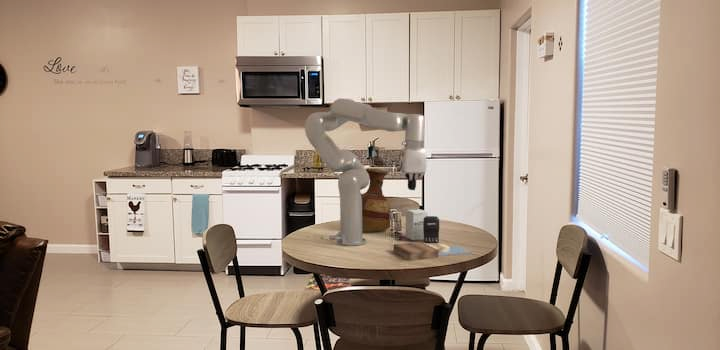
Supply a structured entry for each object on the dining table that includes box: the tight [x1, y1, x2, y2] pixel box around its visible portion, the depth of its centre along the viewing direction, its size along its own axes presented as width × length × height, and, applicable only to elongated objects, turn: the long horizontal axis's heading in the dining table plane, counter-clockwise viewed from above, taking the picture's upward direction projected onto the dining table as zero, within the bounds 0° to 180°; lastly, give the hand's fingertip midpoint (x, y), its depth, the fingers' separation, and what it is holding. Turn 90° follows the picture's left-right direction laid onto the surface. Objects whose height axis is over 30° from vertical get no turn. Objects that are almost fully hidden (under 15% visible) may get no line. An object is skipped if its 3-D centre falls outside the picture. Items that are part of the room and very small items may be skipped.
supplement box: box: [405, 208, 428, 241], centre depth 246 cm, size 7×7×13 cm
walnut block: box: [393, 241, 439, 262], centre depth 217 cm, size 12×15×3 cm
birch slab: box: [427, 243, 450, 253], centre depth 222 cm, size 8×6×2 cm
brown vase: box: [361, 168, 392, 233], centre depth 263 cm, size 20×20×30 cm
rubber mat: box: [438, 245, 472, 257], centre depth 223 cm, size 16×12×1 cm
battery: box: [422, 215, 440, 244], centre depth 238 cm, size 7×4×11 cm, turn 87°
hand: (411, 189), depth 225 cm, fingers closed
